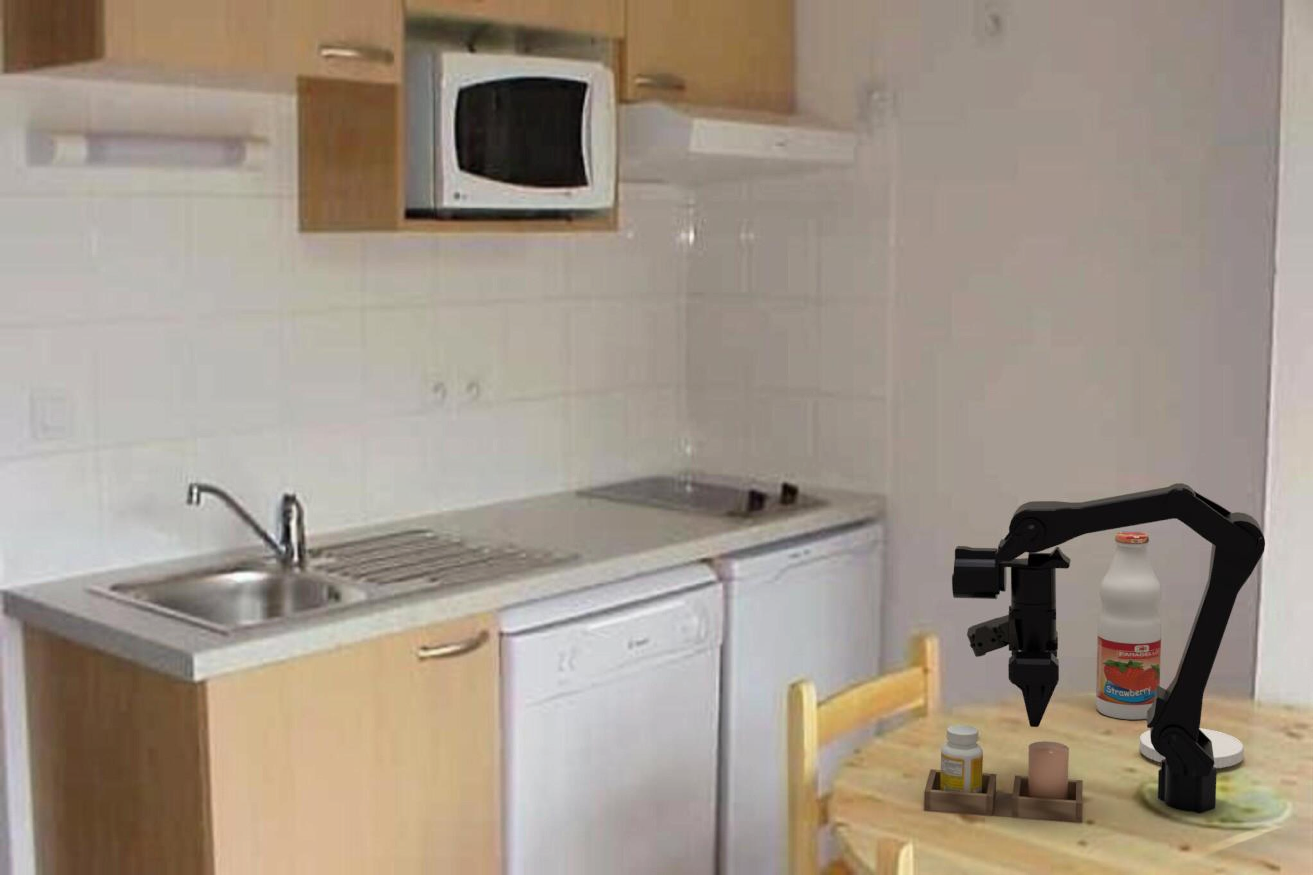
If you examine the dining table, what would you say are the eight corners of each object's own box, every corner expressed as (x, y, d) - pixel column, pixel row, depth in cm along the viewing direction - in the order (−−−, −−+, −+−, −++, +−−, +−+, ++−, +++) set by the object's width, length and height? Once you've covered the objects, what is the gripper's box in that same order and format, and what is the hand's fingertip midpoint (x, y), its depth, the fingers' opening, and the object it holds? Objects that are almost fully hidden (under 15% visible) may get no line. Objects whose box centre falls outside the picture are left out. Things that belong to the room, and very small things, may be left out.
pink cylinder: (1075, 809, 208) (1077, 748, 207) (1049, 817, 206) (1050, 756, 205) (1045, 798, 213) (1046, 738, 211) (1019, 806, 210) (1020, 746, 209)
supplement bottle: (946, 808, 209) (947, 736, 208) (935, 794, 214) (936, 723, 213) (987, 807, 210) (988, 735, 208) (975, 792, 215) (976, 722, 214)
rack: (1082, 806, 212) (1082, 780, 212) (1081, 830, 204) (1082, 803, 204) (930, 794, 217) (930, 769, 217) (924, 817, 209) (924, 791, 208)
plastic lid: (1265, 765, 228) (1265, 748, 227) (1189, 782, 222) (1190, 764, 221) (1191, 737, 240) (1192, 721, 240) (1118, 752, 234) (1118, 735, 234)
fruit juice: (1147, 701, 257) (1152, 527, 253) (1167, 720, 248) (1173, 539, 244) (1087, 703, 257) (1092, 528, 253) (1106, 721, 247) (1111, 540, 243)
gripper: (973, 583, 223) (974, 694, 225) (967, 615, 205) (969, 735, 207) (1057, 584, 220) (1058, 696, 222) (1058, 617, 202) (1059, 738, 204)
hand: (1034, 715), depth 214 cm, fingers open, 9 cm apart
